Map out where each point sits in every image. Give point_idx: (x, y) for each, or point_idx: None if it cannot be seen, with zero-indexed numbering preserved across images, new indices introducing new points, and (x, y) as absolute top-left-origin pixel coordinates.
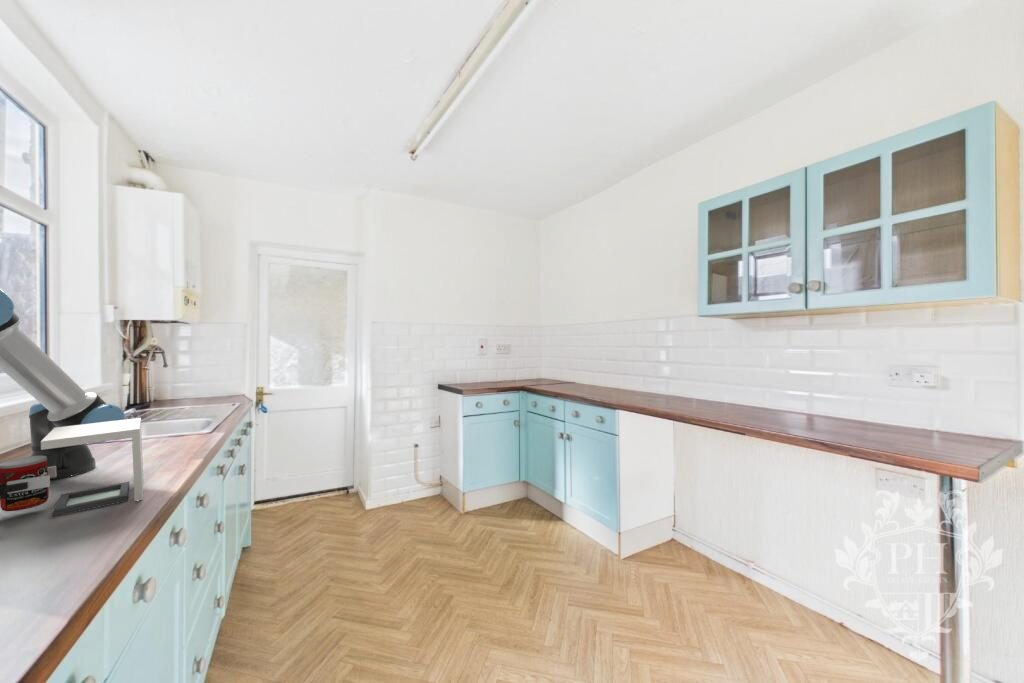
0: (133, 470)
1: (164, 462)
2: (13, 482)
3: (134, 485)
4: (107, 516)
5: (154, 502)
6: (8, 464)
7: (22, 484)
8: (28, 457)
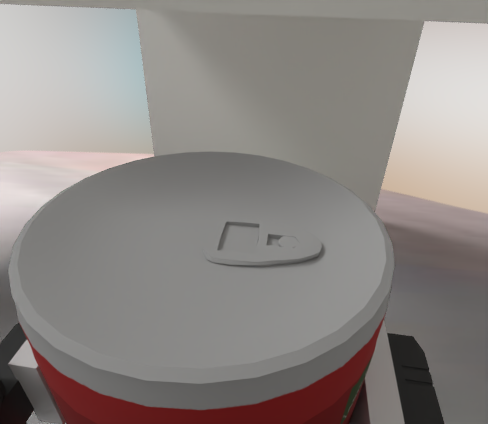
0: (394, 133)
1: (16, 157)
2: (397, 392)
3: (381, 182)
4: (471, 278)
5: (406, 208)
6: (196, 315)
7: (422, 358)
8: (76, 203)
